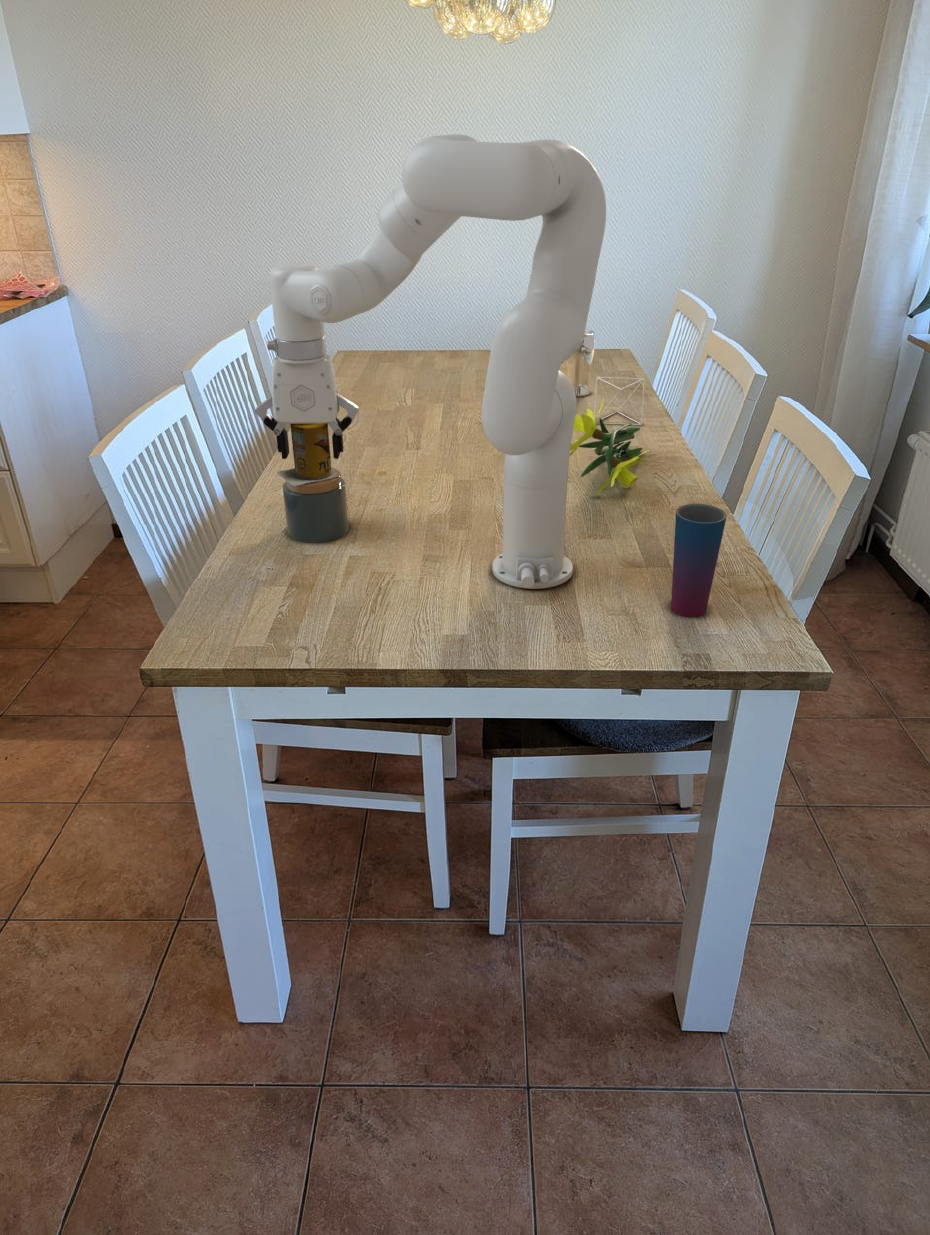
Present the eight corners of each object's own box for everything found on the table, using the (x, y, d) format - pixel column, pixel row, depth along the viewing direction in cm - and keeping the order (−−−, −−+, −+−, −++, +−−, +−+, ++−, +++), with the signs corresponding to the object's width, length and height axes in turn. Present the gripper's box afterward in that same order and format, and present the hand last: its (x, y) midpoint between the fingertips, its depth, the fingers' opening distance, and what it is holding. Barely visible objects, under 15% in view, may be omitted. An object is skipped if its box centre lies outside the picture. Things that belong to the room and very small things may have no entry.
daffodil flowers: (677, 462, 188) (656, 475, 156) (613, 493, 194) (579, 512, 162) (643, 387, 187) (614, 385, 155) (579, 420, 193) (538, 425, 161)
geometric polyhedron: (653, 419, 211) (656, 380, 206) (629, 431, 203) (633, 390, 199) (606, 410, 217) (608, 371, 213) (581, 421, 210) (584, 381, 206)
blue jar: (344, 542, 153) (340, 486, 148) (282, 542, 153) (276, 486, 148) (351, 517, 162) (347, 464, 157) (293, 518, 162) (287, 464, 157)
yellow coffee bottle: (341, 476, 152) (335, 405, 146) (294, 487, 148) (286, 414, 142) (321, 463, 158) (315, 395, 152) (276, 473, 154) (268, 403, 148)
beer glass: (558, 391, 231) (561, 330, 224) (582, 388, 234) (585, 327, 226) (572, 398, 226) (575, 336, 218) (596, 395, 228) (600, 333, 221)
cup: (678, 592, 137) (690, 499, 130) (720, 606, 134) (735, 511, 126) (656, 610, 133) (667, 514, 125) (699, 625, 129) (712, 527, 122)
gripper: (240, 354, 139) (254, 464, 148) (354, 354, 139) (361, 464, 148) (250, 343, 146) (263, 448, 155) (359, 342, 146) (366, 448, 154)
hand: (311, 455), depth 151 cm, fingers open, 8 cm apart
